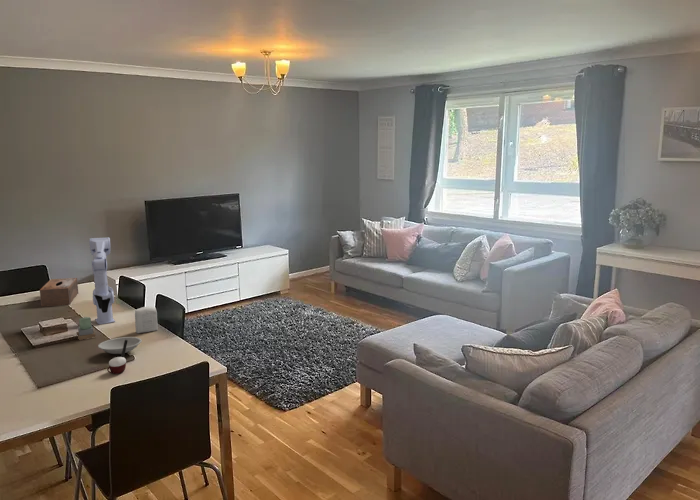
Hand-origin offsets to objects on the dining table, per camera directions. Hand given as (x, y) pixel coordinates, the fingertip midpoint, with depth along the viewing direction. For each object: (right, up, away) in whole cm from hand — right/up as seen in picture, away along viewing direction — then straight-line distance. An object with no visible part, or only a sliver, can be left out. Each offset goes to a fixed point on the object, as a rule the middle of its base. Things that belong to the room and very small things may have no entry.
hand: (103, 310), depth 261 cm
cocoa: (+28, -20, -46) cm, 57 cm away
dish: (+20, -16, -27) cm, 37 cm away
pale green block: (-5, -7, -8) cm, 12 cm away
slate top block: (-5, -10, -7) cm, 13 cm away
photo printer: (+21, -11, +2) cm, 23 cm away
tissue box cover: (-51, 0, +55) cm, 75 cm away
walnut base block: (-5, -12, -7) cm, 15 cm away
